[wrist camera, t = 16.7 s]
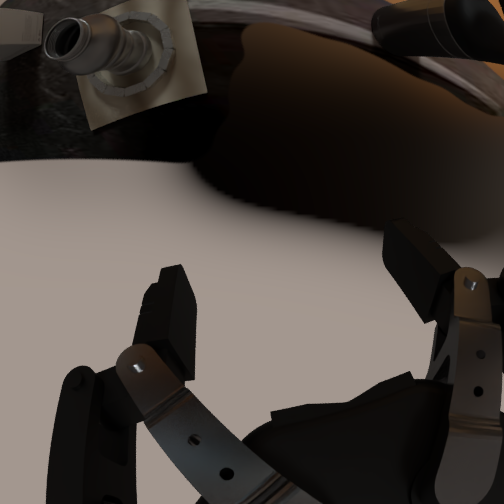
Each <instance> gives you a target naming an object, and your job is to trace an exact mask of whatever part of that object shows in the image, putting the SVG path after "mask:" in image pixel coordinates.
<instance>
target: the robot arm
mask: <svg viewBox="0 0 504 504" xmlns="http://www.w3.org/2000/svg"><path fill="white" fill-rule="evenodd" d="M499 3H500V5H501V7H502V11H503V14H504V0H499ZM372 29H373V33H374V35H375V37H376V39H377V41H378V42H379V44H380V45H381V46H382V47H383V48H384V49H385V50H387V51H388V52H390V53H391V54H393V55H397V56H425V57H447V58H460V59H470V60H478V61H485V62H491V63H497V64H502V65H504V21H503V19H502V18H501V16H500V15H499V13H498V12H497V10H496V9H495V8H494V7H493V5H492V4H491V3H490V2H489V1H488V0H407V1H403V2H400V3H396V4H392V5H389V6H386V7H382V8H380V9H378V10H377V11H376V12H375V13H374V15H373V18H372ZM382 257H383V262H384V265H385V267H386V269H387V270H388V271H389V273H390V274H391V276H392V277H393V278H394V280H395V281H396V282H397V284H398V285H399V287H400V288H401V289H402V291H403V292H404V294H405V295H406V297H407V298H408V300H409V301H410V303H411V304H412V306H413V307H414V308H415V310H416V312H417V313H418V315H419V316H420V318H421V319H422V321H423V322H424V324H425V323H428V322H430V321H433V320H435V321H436V322H437V325H436V327H435V332H434V340H433V347H432V354H431V360H430V365H429V369H428V373H427V375H426V378H425V379H414V378H413V376H412V374H411V372H410V371H409V372H406V373H404V374H401V375H399V376H396V377H393V378H391V379H388V380H385V381H383V382H380V383H378V384H377V385H375V386H373V387H372V388H370V389H369V390H367V391H365V392H364V393H362V394H361V395H359V396H357V397H356V398H354V399H352V400H350V401H349V402H344V403H325V404H324V403H323V404H305V405H300V406H296V407H291V408H287V409H282V410H277V411H272V412H271V418H272V420H271V421H269V422H267V423H265V424H263V425H262V426H259V427H258V428H256V429H255V430H253V431H252V432H251V433H249V434H248V435H247V436H246V437H245V438H244V439H243V440H242V441H240V440H239V439H238V438H237V437H236V436H235V435H234V434H232V433H231V432H230V431H229V430H228V429H227V428H226V427H225V426H224V425H223V424H222V423H221V422H220V421H219V420H218V419H217V418H216V417H215V416H214V415H213V414H212V413H211V412H210V411H209V410H208V409H207V408H206V407H205V406H204V405H203V404H202V403H201V402H200V401H199V400H198V399H197V398H196V397H195V395H194V394H193V393H192V392H191V391H190V390H189V389H188V388H186V387H185V381H191V380H195V347H196V320H197V304H196V299H195V296H194V293H193V290H192V288H191V286H190V283H189V281H188V279H187V276H186V274H185V271H184V268H183V267H182V265H181V264H179V265H174V266H170V267H165V268H162V269H161V271H160V276H159V279H158V282H157V283H153V284H151V285H150V287H149V288H148V289H147V291H146V292H145V294H144V297H143V301H142V306H141V309H140V315H139V317H138V322H137V326H136V330H135V334H134V339H133V343H132V346H130V347H128V348H127V349H126V350H124V351H123V352H122V353H121V354H120V356H119V357H118V359H117V362H116V366H114V367H111V368H109V369H106V370H104V371H101V372H98V373H95V372H94V371H93V370H92V369H91V368H90V367H88V366H78V367H76V368H74V369H73V370H71V371H70V372H69V373H68V374H67V376H66V377H65V379H64V381H63V385H62V389H61V393H60V397H59V402H58V407H57V412H56V417H55V423H54V429H53V434H52V441H51V447H50V455H49V464H48V474H47V489H46V504H137V492H136V426H137V423H139V422H141V421H144V424H145V425H146V427H147V429H148V430H149V432H150V433H151V434H152V436H153V437H154V438H155V440H156V441H157V443H158V444H159V445H160V447H161V448H162V449H163V450H164V452H165V453H166V454H167V456H168V457H169V458H170V460H171V461H172V462H173V463H174V464H175V466H176V467H177V468H178V469H179V470H180V472H181V473H182V474H183V475H184V476H185V478H186V479H187V480H188V481H189V482H190V483H191V484H192V486H193V487H194V488H195V489H196V490H197V491H198V492H199V493H200V494H201V495H202V496H201V497H200V498H199V499H198V501H197V502H196V504H504V413H503V412H501V411H500V406H501V393H502V372H503V373H504V268H503V269H502V272H501V274H500V277H499V278H488V279H487V278H486V277H485V276H484V275H483V274H482V273H481V272H480V271H478V270H476V269H474V268H470V267H462V268H461V267H460V266H459V265H458V263H457V262H456V261H455V260H454V259H453V258H452V257H451V256H450V255H449V254H448V253H447V252H446V251H445V250H444V249H443V248H441V247H440V245H439V244H438V243H437V242H435V241H434V239H433V238H432V237H431V236H430V235H429V234H428V233H427V232H425V231H423V230H421V229H419V228H417V227H414V226H413V225H412V224H411V223H410V222H409V221H407V220H406V219H405V218H398V219H393V220H389V221H386V223H385V227H384V239H383V251H382Z"/></svg>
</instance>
